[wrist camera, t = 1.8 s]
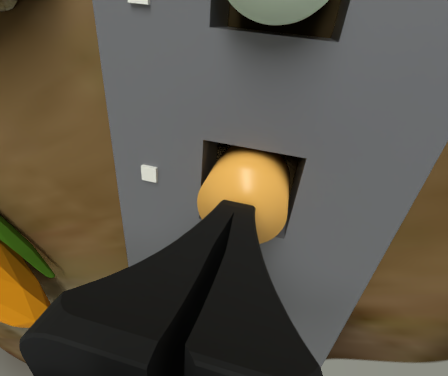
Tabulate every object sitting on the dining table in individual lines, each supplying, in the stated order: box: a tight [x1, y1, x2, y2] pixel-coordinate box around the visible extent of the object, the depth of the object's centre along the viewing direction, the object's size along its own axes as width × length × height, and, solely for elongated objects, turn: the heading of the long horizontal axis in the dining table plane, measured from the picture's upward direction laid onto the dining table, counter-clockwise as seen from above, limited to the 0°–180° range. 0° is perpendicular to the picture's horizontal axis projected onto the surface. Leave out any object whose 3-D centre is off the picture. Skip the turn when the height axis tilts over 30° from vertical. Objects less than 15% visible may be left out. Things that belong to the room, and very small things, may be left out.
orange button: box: [197, 145, 290, 244], centre depth 13 cm, size 4×4×3 cm
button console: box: [92, 0, 448, 368], centre depth 14 cm, size 14×30×3 cm, turn 174°
